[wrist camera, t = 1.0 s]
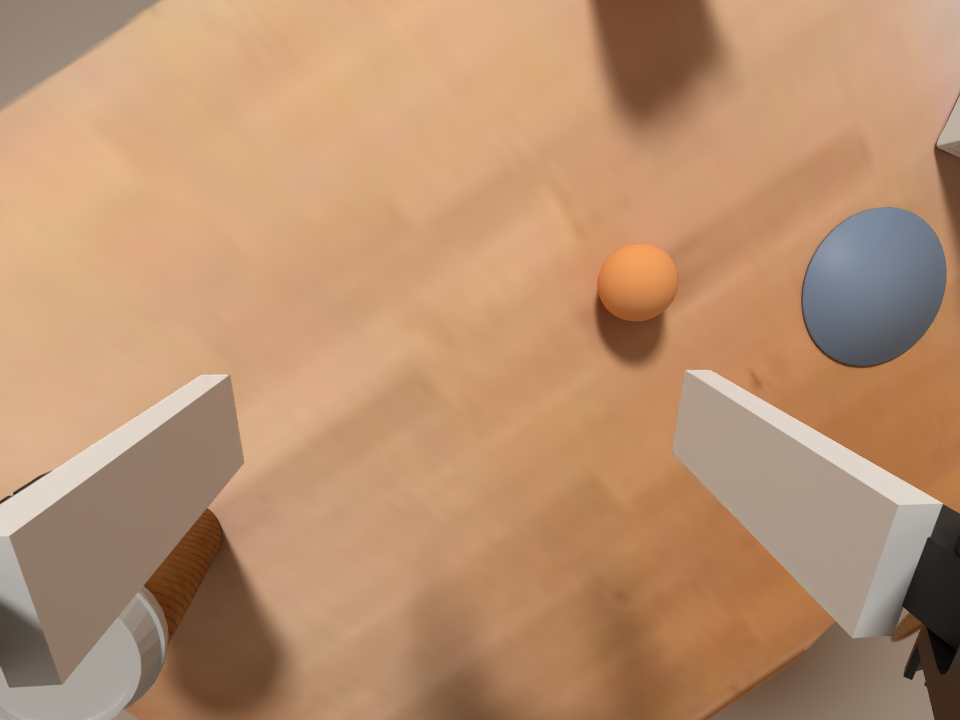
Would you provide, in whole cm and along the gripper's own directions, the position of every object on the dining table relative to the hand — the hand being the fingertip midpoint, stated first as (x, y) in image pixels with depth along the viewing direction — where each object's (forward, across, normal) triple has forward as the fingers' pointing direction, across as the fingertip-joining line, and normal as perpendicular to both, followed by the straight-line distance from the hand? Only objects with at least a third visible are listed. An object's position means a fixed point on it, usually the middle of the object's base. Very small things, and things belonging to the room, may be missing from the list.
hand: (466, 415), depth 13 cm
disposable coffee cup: (+19, +21, +18) cm, 34 cm away
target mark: (+23, -35, 0) cm, 42 cm away
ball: (+20, -13, -1) cm, 24 cm away
